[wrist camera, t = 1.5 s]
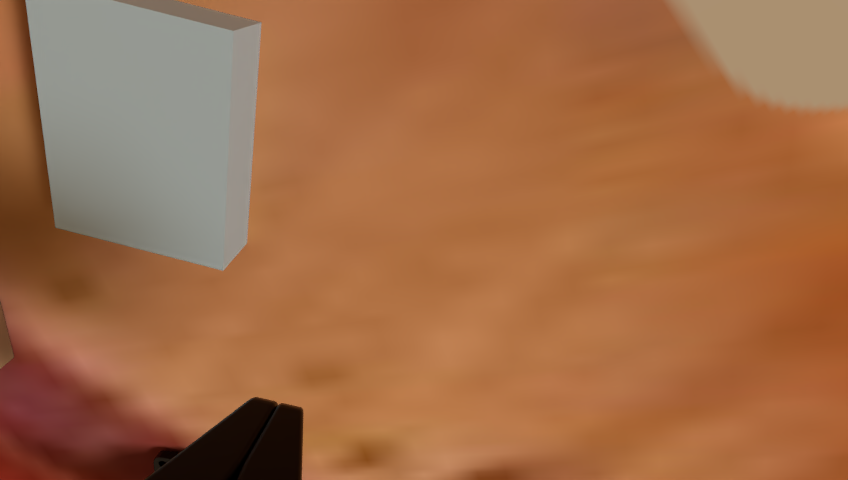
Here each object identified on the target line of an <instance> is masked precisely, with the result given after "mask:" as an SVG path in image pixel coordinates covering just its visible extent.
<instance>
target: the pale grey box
mask: <svg viewBox="0 0 848 480" xmlns="http://www.w3.org/2000/svg"><path fill="white" fill-rule="evenodd" d="M25 1H26V8H27V16H28V23H29V31H30V39H31V46H32V54H33V61H34V69H35V77H36V84H37V92H38V99H39V107H40V114H41V122H42V130H43V137H44V145H45V152H46V160H47V167H48V175H49V183H50V190H51V198H52V205H53V213H54V221H55V228H59V229H63V230H66V231H70V232H74V233H78V234H82V235H86V236H90V237H94V238H98V239H102V240H105V241H109V242H113V243H117V244H121V245H125V246H129V247H133V248H137V249H141V250H145V251H148V252H152V253H156V254H160V255H164V256H168V257H172V258H176V259H180V260H184V261H188V262H191V263H195V264H199V265H203V266H207V267H211V268H215V269H219V270H224V269H225V268H226V267H227V266H228V264H229V263H230V262H231V261H232V260H233V259H234V258H235V256H236V255H237V254H238V253H239V252H240V251H241V249H242V248H243V247H244V246H245V245H246V244H247V233H248V218H249V203H250V188H251V172H252V157H253V142H254V127H255V112H256V96H257V81H258V66H259V51H260V36H261V22H258V21H254V20H250V19H246V18H242V17H238V16H234V15H230V14H226V13H223V12H219V11H215V10H211V9H207V8H203V7H199V6H195V5H191V4H187V3H183V2H179V1H175V0H25Z"/></svg>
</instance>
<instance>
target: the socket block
mask: <svg viewBox="0 0 848 480" xmlns="http://www.w3.org/2000/svg"><path fill="white" fill-rule="evenodd" d="M13 358H14V355H13V351H12V347H11V343H10V339H9V334H8V330H7V326H6V322H5V318H4V314H3V310H2V306H1V302H0V369H1V368H2V367H3V366H4V365H5V364H7V363H8V362H9V361H10V360H11V359H13Z"/></svg>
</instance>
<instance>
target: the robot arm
mask: <svg viewBox="0 0 848 480" xmlns="http://www.w3.org/2000/svg"><path fill="white" fill-rule="evenodd" d="M302 446H303V409H302V408H301V407H297V406H293V405H289V404H284V403H281V404H279V405H278V404H277V403H276V402H275V401H271V400H267V399H263V398H258V397H255V398H252V399H250V400H248V401H247V402H246V403H244V404H243V405H242V406H241V407H239V408H238V409H237V410H235V411H234V412H233V413H231V414H230V415H229V416H227V417H226V418H225V419H223V420H222V421H221V422H219V423H218V424H217V425H216V426H214V427H213V428H212V429H210V430H209V431H208V432H206V433H205V434H204V435H202V436H201V437H200V438H198V439H197V440H196V441H194V442H193V443H192V444H191V445H189V446H188V447H187V448H185V449H184V450H183V451H181V452H180V453H179V454H178V453H174V452H169V451H161V452H159V453H158V455H157V456H156V458H155V459H154V471H155V472H154V473H152V474H151V475H150V476H148V477H147V478H146V479H145V480H302Z"/></svg>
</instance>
